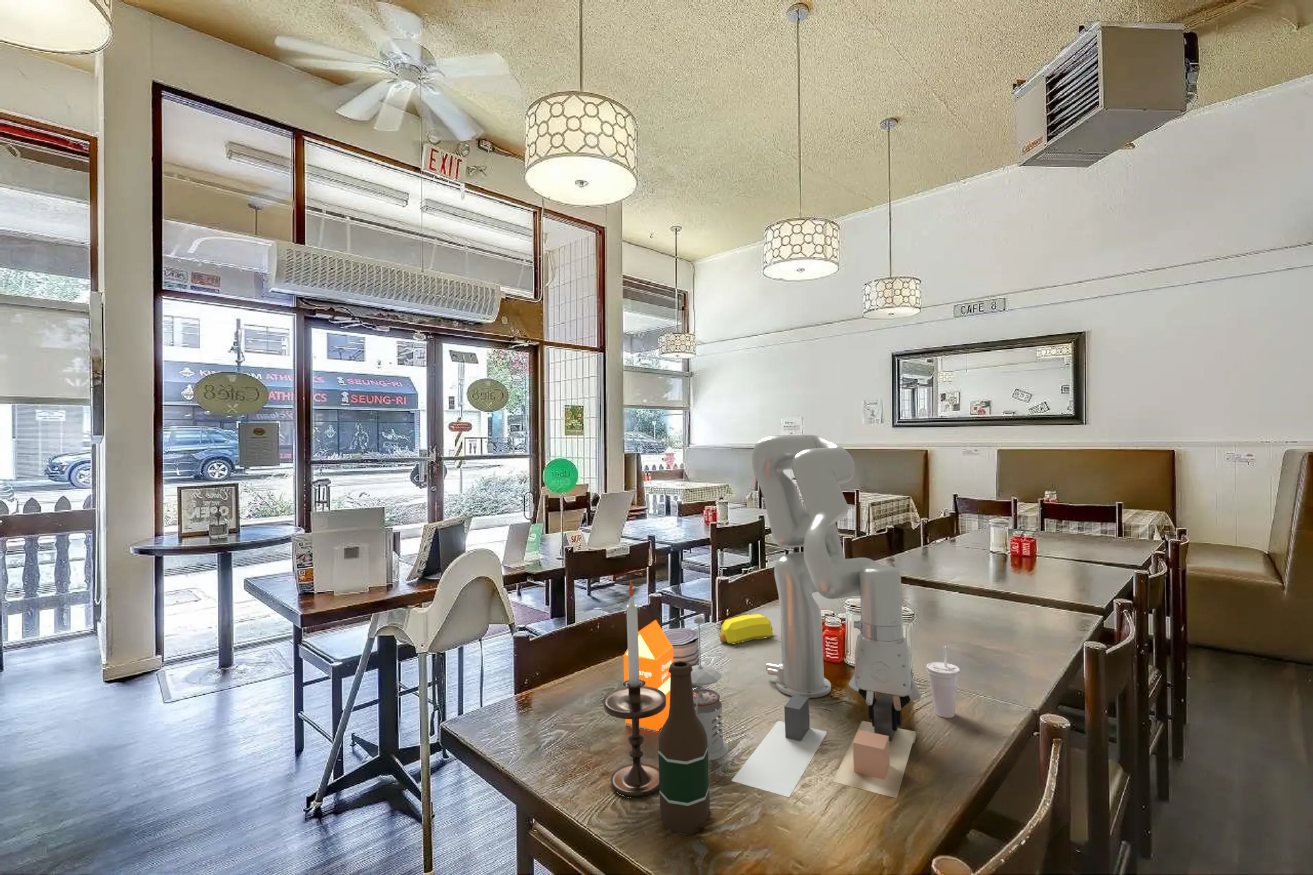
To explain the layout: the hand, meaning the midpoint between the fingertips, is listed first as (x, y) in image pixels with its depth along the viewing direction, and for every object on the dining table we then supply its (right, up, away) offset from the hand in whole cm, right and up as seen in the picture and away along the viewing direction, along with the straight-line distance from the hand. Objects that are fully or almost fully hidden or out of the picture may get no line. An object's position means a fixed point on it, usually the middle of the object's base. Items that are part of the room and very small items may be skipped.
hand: (885, 724), depth 113 cm
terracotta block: (-7, -2, -12) cm, 14 cm away
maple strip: (-4, -3, -8) cm, 9 cm away
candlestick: (-48, -4, -12) cm, 49 cm away
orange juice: (-45, -5, +11) cm, 47 cm away
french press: (-36, -4, -2) cm, 36 cm away
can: (-39, -5, +30) cm, 49 cm away
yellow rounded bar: (-17, -5, +61) cm, 63 cm away
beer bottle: (-40, -4, -22) cm, 46 cm away
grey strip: (-21, -3, -7) cm, 22 cm away
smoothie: (+16, -3, +10) cm, 19 cm away
